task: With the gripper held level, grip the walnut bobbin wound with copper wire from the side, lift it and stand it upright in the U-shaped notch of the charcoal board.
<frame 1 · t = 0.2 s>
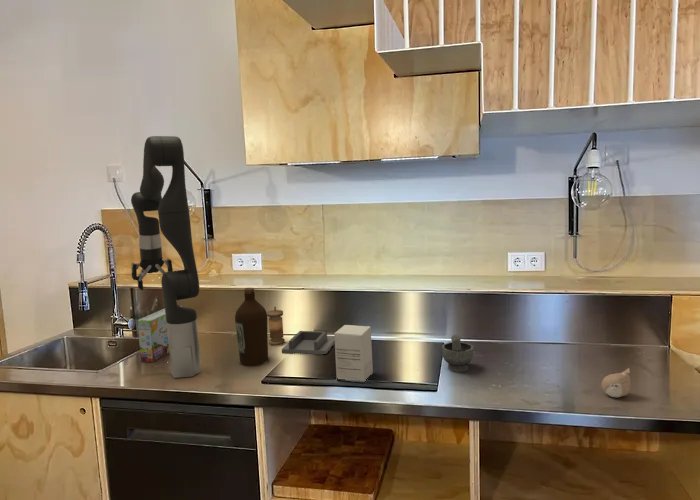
hand: (153, 288, 191), 22 cm above the countertop, tool pointing down, fingers open, 8 cm apart
olive oil: (254, 361, 172), on the countertop
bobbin: (277, 343, 191), on the countertop
mortar and pestle: (457, 369, 158), on the countertop
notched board: (309, 347, 184), on the countertop
supplement box: (354, 377, 155), on the countertop
snack box: (164, 352, 186), on the countertop
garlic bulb: (615, 396, 134), on the countertop
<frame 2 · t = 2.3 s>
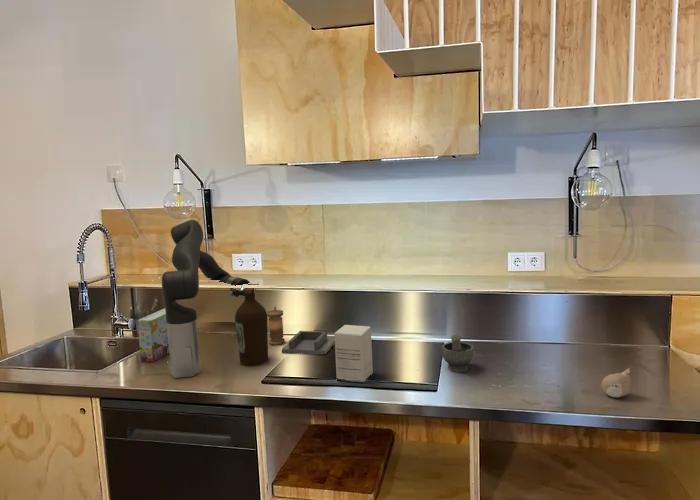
hand: (258, 292, 197), 18 cm above the countertop, tool horizontal, fingers open, 8 cm apart
nothing on the countertop moved.
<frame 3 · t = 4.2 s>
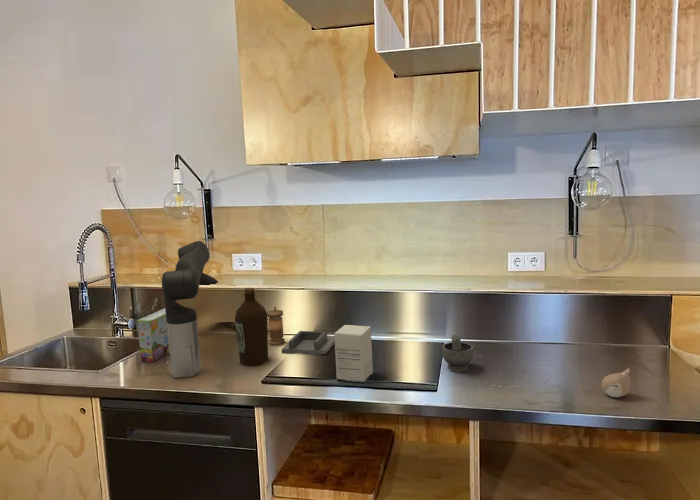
hand: (264, 322, 196), 6 cm above the countertop, tool horizontal, fingers open, 8 cm apart
nothing on the countertop moved.
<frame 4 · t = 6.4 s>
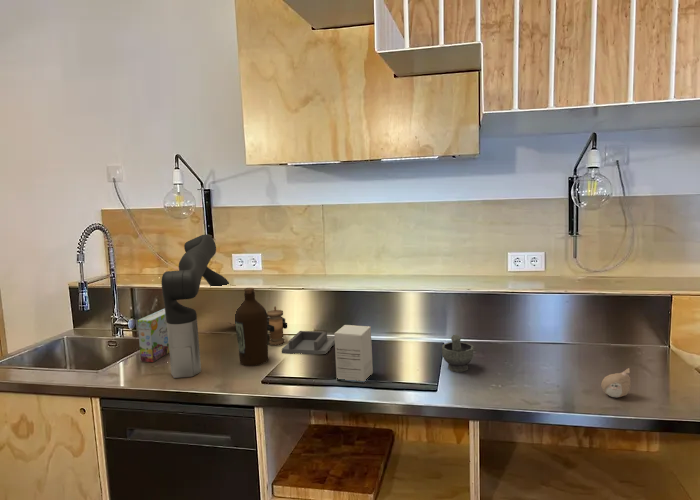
hand: (279, 327, 188), 7 cm above the countertop, tool horizontal, fingers closed on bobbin, 5 cm apart
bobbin: (277, 343, 191), on the countertop, touching gripper
everything else where it was.
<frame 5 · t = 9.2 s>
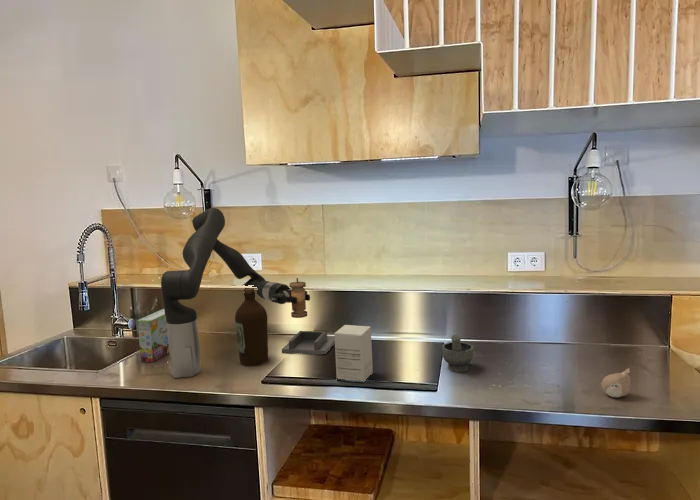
hand: (302, 299, 182), 18 cm above the countertop, tool horizontal, fingers closed on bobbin, 5 cm apart
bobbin: (299, 315, 185), point 11 cm above the countertop, touching gripper
everything else where it was.
when the fingers open (9 cm above the countertop, at t = 12.0 s): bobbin drops 1 cm, resting on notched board.
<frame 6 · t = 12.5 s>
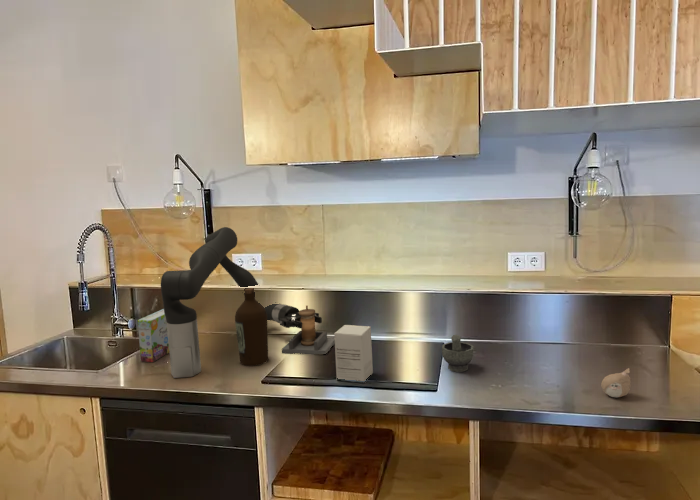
hand: (311, 322, 181), 10 cm above the countertop, tool horizontal, fingers open, 8 cm apart
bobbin: (309, 343, 184), point 2 cm above the countertop, touching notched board
everything else where it was.
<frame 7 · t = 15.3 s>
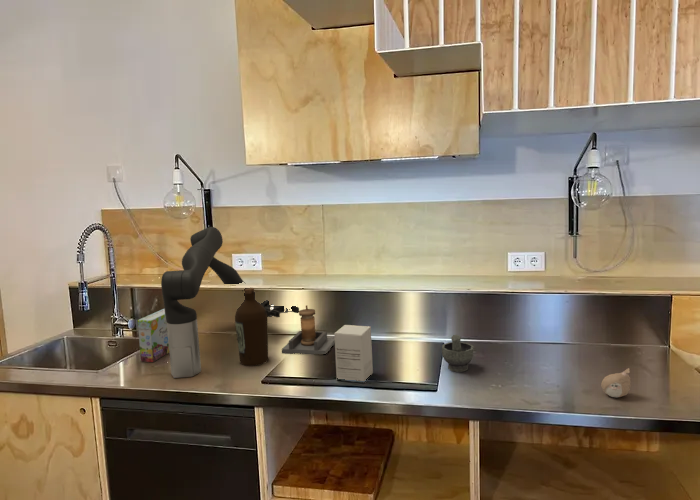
hand: (288, 312, 191), 11 cm above the countertop, tool horizontal, fingers open, 8 cm apart
nothing on the countertop moved.
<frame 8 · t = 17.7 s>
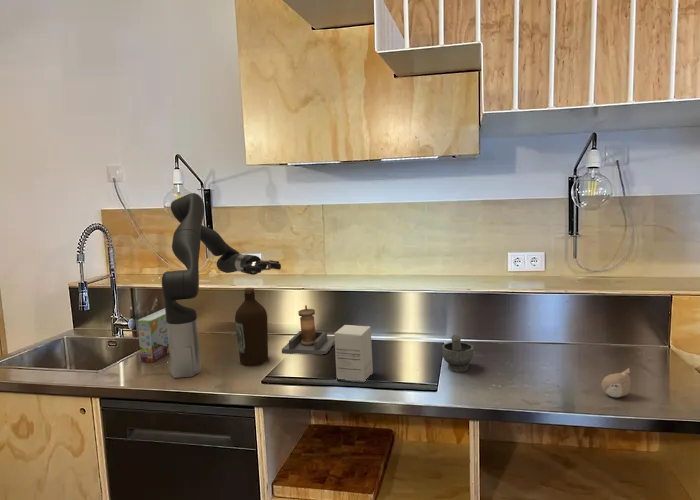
hand: (270, 268, 189), 28 cm above the countertop, tool horizontal, fingers open, 8 cm apart
nothing on the countertop moved.
at the end: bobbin 0.1 cm off-centre on the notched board, point 1.6 cm above the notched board's base; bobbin tilted 2°; the gripper is holding nothing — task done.
